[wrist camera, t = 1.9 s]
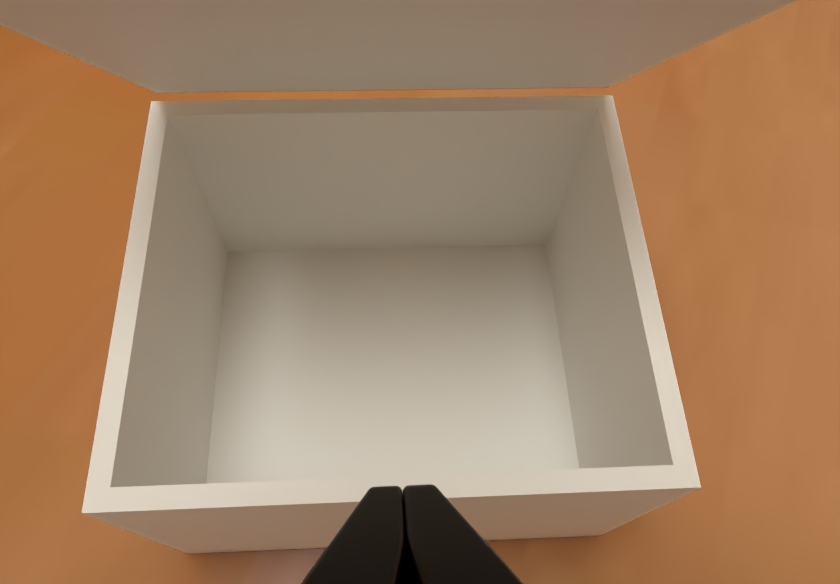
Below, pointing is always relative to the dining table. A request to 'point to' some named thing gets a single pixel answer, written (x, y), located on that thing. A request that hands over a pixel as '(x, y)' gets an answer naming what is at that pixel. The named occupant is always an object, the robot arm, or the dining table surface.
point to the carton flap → (375, 40)
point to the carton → (385, 324)
